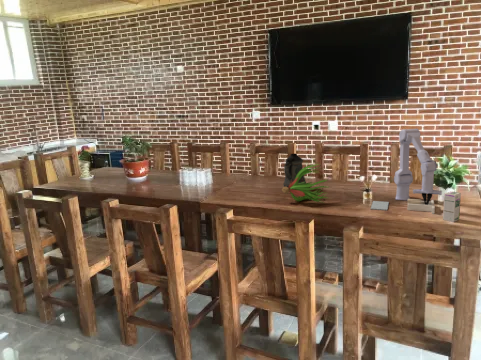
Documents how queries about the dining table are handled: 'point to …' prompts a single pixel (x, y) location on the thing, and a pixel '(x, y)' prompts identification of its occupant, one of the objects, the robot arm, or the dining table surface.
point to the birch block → (414, 201)
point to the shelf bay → (422, 207)
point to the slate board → (379, 205)
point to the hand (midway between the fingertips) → (426, 206)
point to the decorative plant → (304, 187)
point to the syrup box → (451, 206)
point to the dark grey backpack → (293, 169)
